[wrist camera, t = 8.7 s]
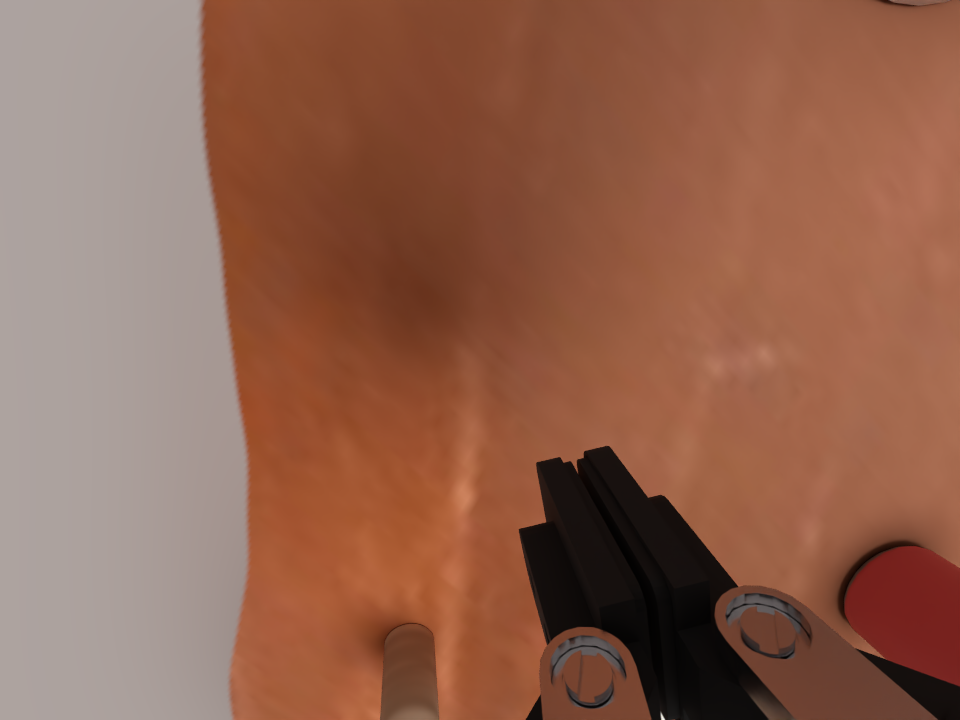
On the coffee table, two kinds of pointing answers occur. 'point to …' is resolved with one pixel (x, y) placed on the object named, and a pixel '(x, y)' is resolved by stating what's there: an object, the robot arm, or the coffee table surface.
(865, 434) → the coffee table surface
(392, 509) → the coffee table surface
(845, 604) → the beer can
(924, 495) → the coffee table surface
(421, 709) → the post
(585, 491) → the robot arm
